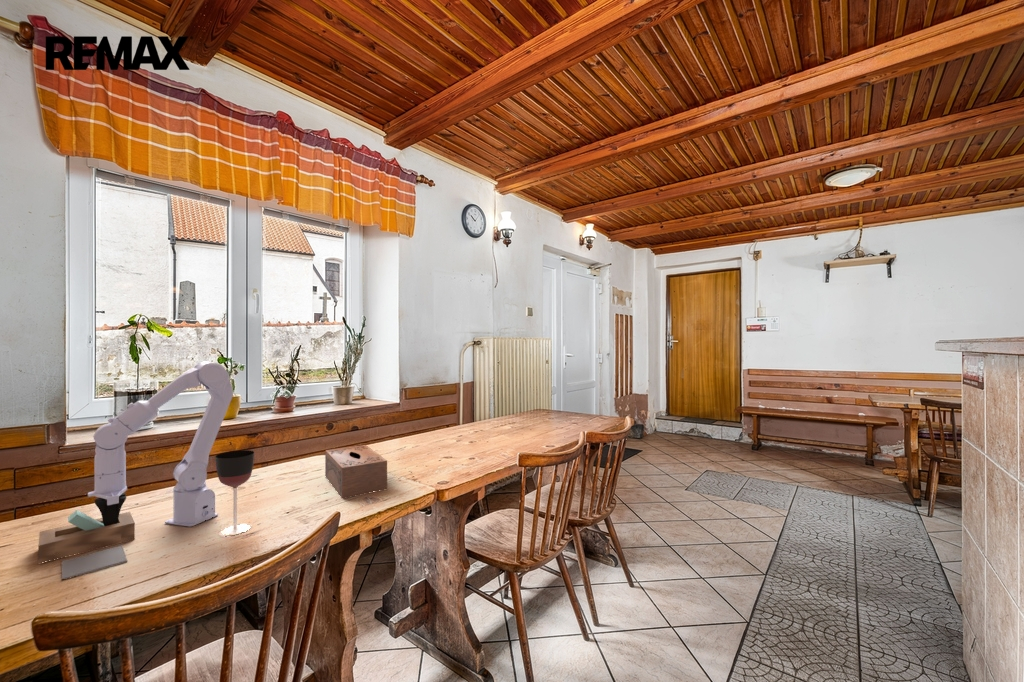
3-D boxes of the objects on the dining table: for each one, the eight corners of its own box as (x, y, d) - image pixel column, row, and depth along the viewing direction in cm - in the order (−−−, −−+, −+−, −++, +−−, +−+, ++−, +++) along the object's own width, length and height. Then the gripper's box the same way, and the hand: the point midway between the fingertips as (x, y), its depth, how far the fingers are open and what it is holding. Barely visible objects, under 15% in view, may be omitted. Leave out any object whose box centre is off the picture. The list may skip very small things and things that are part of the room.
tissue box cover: (325, 477, 154) (325, 450, 154) (365, 470, 162) (365, 444, 162) (341, 499, 133) (342, 467, 133) (387, 490, 141) (387, 460, 141)
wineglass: (226, 523, 114) (226, 450, 114) (260, 522, 115) (260, 449, 115) (208, 537, 106) (208, 458, 106) (244, 536, 107) (244, 458, 107)
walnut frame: (129, 527, 112) (129, 511, 112) (134, 539, 105) (134, 522, 105) (39, 549, 100) (39, 531, 100) (38, 564, 93) (38, 545, 93)
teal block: (103, 535, 106) (111, 528, 107) (105, 540, 103) (113, 533, 104) (68, 517, 101) (76, 509, 102) (68, 522, 99) (77, 514, 100)
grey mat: (122, 547, 101) (122, 545, 101) (127, 561, 94) (127, 560, 94) (61, 563, 94) (61, 561, 94) (61, 580, 87) (61, 578, 87)
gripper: (86, 469, 107) (86, 522, 107) (89, 482, 98) (89, 540, 98) (123, 463, 113) (123, 513, 113) (130, 475, 103) (130, 530, 103)
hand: (110, 525), depth 105 cm, fingers closed, pressing on teal block
